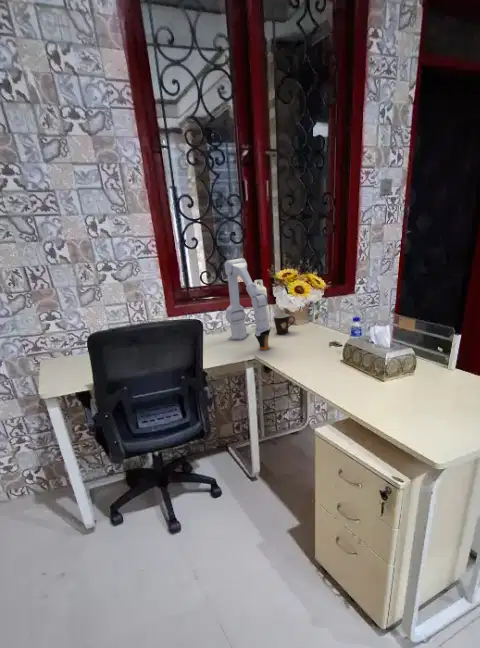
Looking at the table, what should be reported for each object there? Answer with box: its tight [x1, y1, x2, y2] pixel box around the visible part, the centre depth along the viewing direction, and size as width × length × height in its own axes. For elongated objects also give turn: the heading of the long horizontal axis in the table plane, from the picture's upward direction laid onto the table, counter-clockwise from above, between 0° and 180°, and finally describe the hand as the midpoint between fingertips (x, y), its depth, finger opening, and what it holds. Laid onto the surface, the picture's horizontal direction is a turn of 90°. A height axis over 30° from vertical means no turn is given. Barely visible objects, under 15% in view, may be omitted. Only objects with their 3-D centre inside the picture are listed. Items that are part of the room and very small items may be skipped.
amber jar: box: [259, 333, 270, 351], centre depth 215 cm, size 5×5×8 cm
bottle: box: [254, 279, 271, 329], centre depth 243 cm, size 8×8×28 cm
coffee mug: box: [273, 313, 296, 336], centre depth 236 cm, size 12×9×10 cm
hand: (263, 345), depth 216 cm, fingers closed on amber jar, 4 cm apart
